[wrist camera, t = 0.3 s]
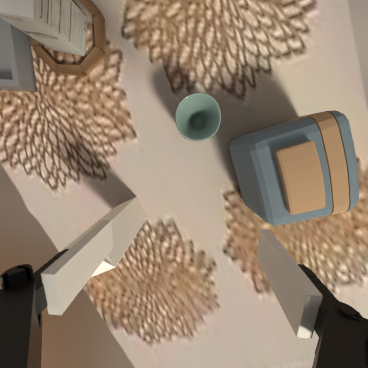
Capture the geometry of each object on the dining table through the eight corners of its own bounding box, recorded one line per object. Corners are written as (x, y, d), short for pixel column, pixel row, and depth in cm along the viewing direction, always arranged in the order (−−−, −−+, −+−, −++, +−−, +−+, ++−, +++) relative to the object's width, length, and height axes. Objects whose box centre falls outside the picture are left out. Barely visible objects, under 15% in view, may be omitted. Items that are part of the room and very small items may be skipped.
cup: (177, 107, 39) (171, 96, 29) (213, 100, 38) (219, 87, 28) (183, 143, 41) (178, 144, 31) (217, 138, 40) (224, 137, 30)
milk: (116, 205, 45) (44, 262, 24) (137, 195, 44) (80, 246, 23) (128, 225, 46) (69, 297, 25) (148, 216, 45) (105, 283, 24)
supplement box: (52, 51, 38) (-17, 9, 26) (53, 10, 36) (-21, -57, 24) (86, 58, 38) (33, 19, 26) (88, 17, 36) (33, -47, 24)
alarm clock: (314, 186, 41) (385, 214, 26) (243, 206, 43) (269, 243, 28) (300, 115, 38) (373, 97, 22) (225, 140, 40) (242, 141, 24)
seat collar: (29, -11, 35) (22, -17, 34) (103, -10, 35) (99, -16, 33) (40, 74, 39) (34, 71, 38) (107, 76, 38) (103, 74, 37)
